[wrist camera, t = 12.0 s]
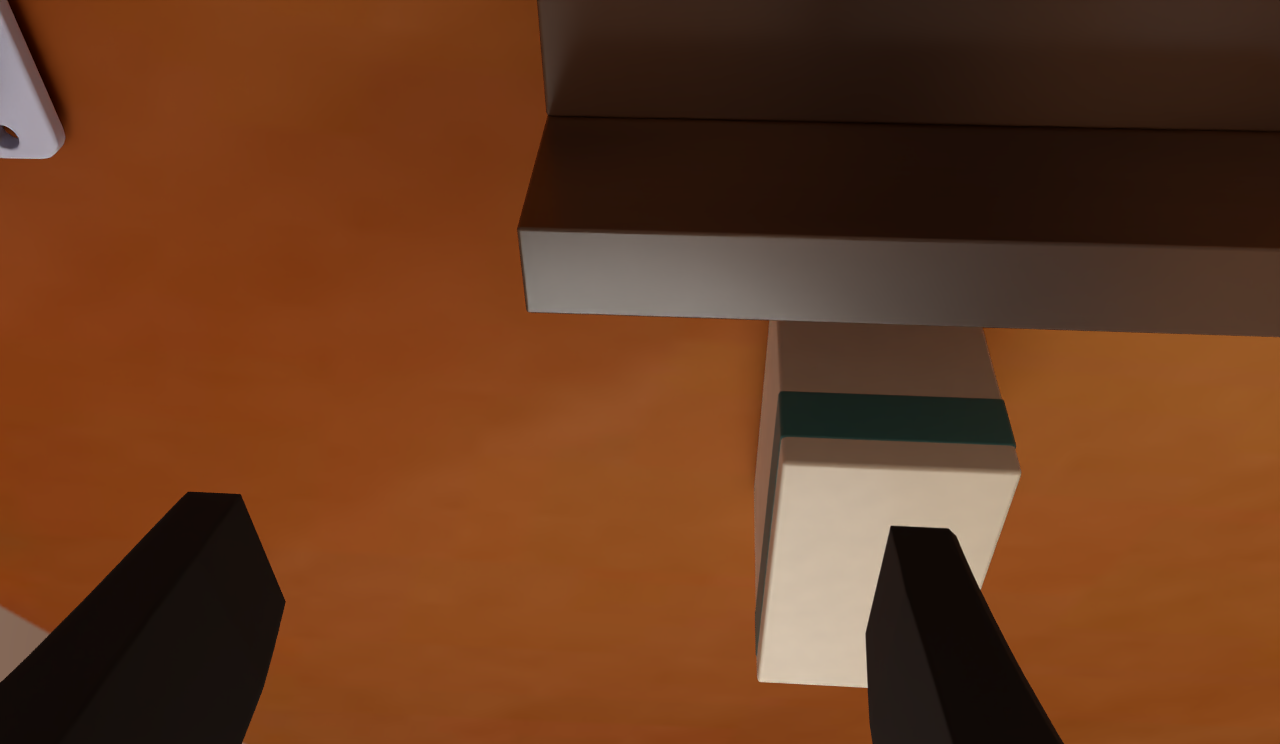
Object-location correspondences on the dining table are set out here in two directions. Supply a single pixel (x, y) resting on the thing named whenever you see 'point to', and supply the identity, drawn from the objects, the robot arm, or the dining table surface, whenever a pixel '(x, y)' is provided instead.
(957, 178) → the walnut shelf
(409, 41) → the dining table surface
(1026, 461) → the dining table surface
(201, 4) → the dining table surface
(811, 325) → the tea box
